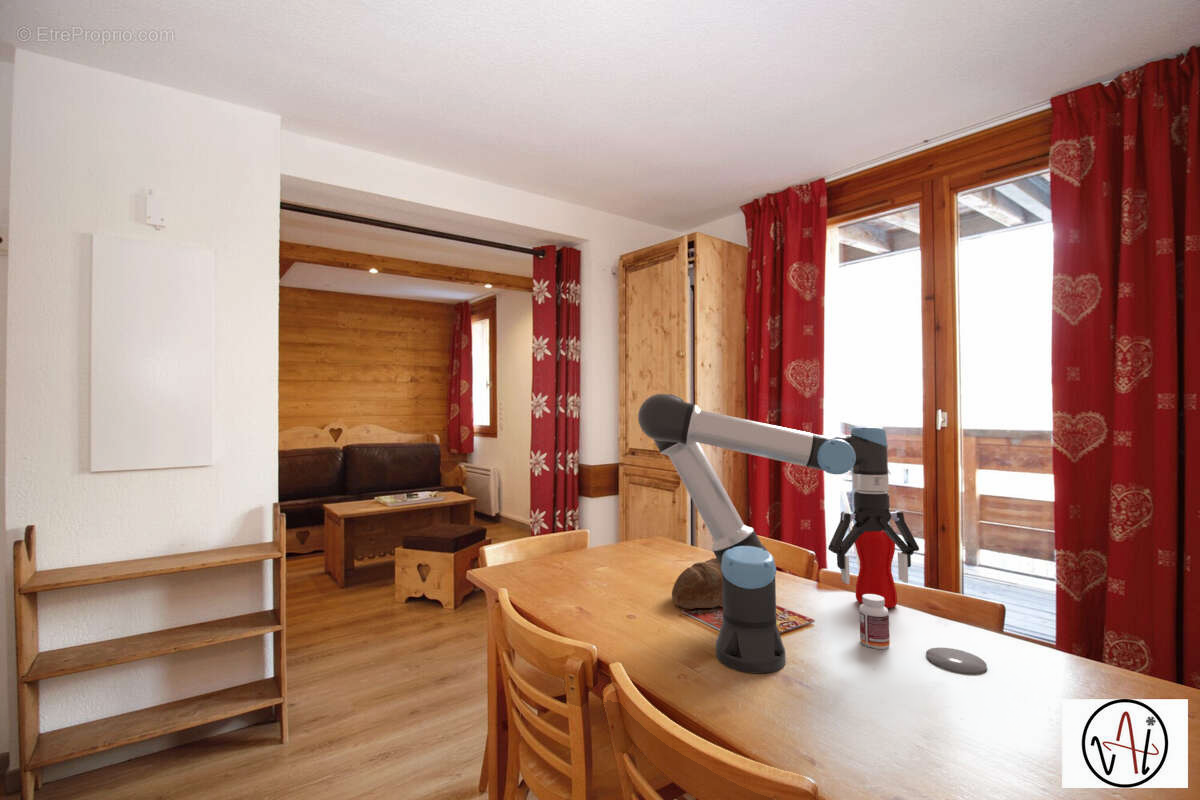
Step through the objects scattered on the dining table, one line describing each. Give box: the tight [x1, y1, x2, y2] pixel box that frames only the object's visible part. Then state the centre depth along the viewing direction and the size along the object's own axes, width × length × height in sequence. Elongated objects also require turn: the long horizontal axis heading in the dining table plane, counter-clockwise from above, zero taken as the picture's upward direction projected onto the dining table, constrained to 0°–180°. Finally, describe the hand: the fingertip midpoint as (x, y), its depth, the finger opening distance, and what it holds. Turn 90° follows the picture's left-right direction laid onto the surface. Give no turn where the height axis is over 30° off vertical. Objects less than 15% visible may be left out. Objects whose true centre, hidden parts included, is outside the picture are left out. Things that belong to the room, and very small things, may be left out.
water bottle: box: [854, 530, 898, 609], centre depth 151 cm, size 9×11×25 cm
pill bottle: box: [858, 594, 890, 650], centre depth 124 cm, size 6×6×11 cm
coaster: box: [925, 647, 988, 675], centre depth 115 cm, size 11×11×1 cm
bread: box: [671, 557, 723, 610], centre depth 157 cm, size 16×29×11 cm, turn 125°
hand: (874, 581), depth 125 cm, fingers open, 13 cm apart
